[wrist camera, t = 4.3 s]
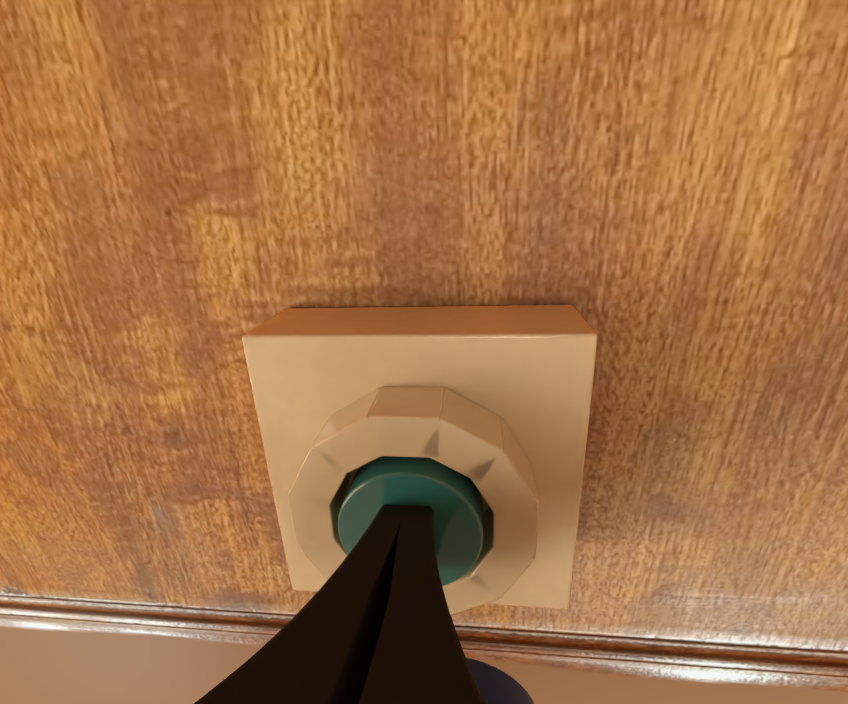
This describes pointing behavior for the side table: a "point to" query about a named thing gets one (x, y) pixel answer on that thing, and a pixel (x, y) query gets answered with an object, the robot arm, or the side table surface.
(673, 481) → the side table surface
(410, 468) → the teal button
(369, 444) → the push button box
